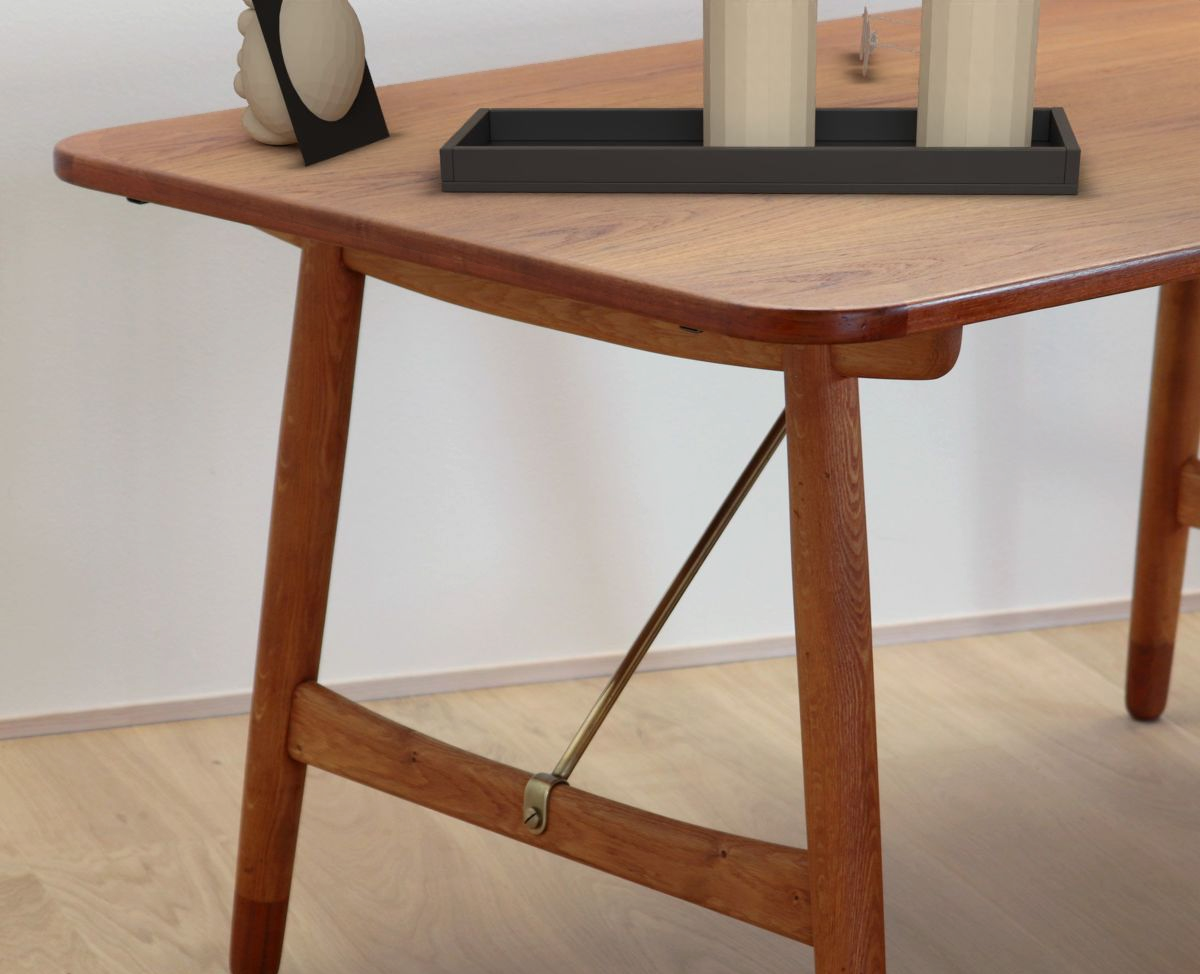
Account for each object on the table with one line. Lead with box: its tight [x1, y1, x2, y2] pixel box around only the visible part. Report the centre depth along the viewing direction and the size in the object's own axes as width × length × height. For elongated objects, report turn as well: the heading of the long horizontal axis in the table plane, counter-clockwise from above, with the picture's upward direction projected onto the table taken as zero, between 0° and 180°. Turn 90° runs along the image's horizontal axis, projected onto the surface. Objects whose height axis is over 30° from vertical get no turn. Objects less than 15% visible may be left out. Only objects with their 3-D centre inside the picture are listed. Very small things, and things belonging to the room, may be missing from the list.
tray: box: [438, 106, 1082, 195], centre depth 119 cm, size 38×13×3 cm, turn 82°
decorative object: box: [232, 0, 391, 167], centre depth 127 cm, size 13×10×10 cm
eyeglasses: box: [859, 5, 921, 78], centre depth 150 cm, size 14×8×4 cm, turn 175°
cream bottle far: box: [916, 0, 1042, 147], centre depth 114 cm, size 7×7×16 cm
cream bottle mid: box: [702, 0, 819, 147], centre depth 116 cm, size 7×7×16 cm
